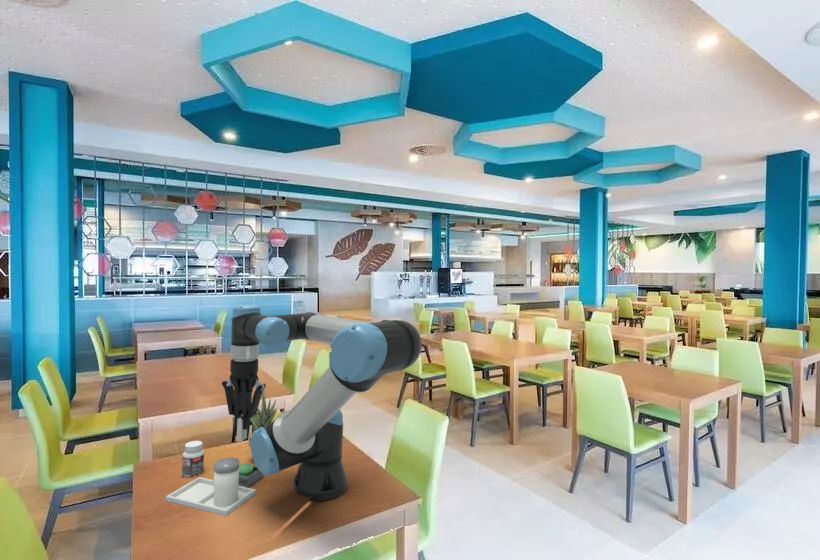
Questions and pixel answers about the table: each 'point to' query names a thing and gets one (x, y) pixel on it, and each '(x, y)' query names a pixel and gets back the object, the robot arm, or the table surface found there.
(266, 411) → the potted plant
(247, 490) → the white divided tray
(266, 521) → the table surface
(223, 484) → the white canister
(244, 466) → the button
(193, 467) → the pill bottle
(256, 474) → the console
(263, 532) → the table surface
